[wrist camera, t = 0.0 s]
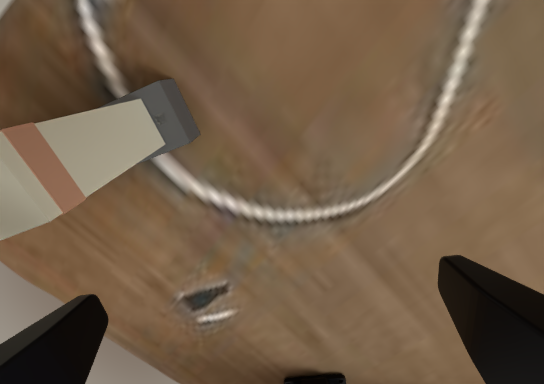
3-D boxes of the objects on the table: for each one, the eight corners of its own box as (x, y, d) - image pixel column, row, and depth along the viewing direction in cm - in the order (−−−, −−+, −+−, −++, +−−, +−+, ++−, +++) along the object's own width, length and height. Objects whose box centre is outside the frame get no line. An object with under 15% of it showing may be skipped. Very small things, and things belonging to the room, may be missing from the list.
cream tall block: (166, 144, 19) (52, 222, 9) (113, 166, 19) (-41, 257, 10) (140, 97, 17) (-17, 133, 8) (85, 122, 18) (-116, 180, 9)
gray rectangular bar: (200, 134, 21) (190, 142, 19) (46, 196, 23) (20, 210, 21) (173, 78, 19) (158, 80, 17) (12, 151, 22) (-20, 160, 20)
